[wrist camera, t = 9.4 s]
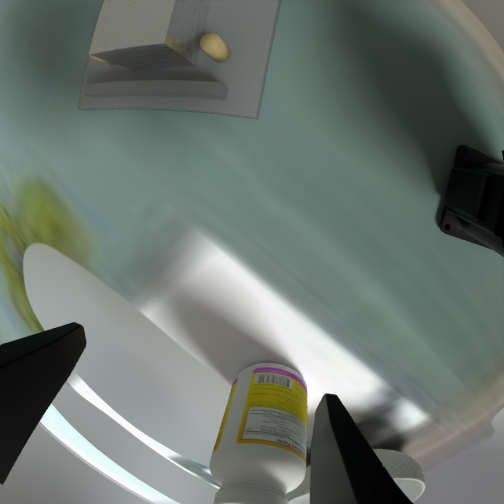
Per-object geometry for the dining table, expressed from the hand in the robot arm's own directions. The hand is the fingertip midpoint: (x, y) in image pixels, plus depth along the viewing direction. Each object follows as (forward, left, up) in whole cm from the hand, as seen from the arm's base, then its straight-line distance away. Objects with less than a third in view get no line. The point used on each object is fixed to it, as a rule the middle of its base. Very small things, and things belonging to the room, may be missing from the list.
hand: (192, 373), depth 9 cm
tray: (+8, -17, -12) cm, 22 cm away
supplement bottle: (-4, +12, -12) cm, 18 cm away
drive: (+8, -17, -11) cm, 22 cm away
